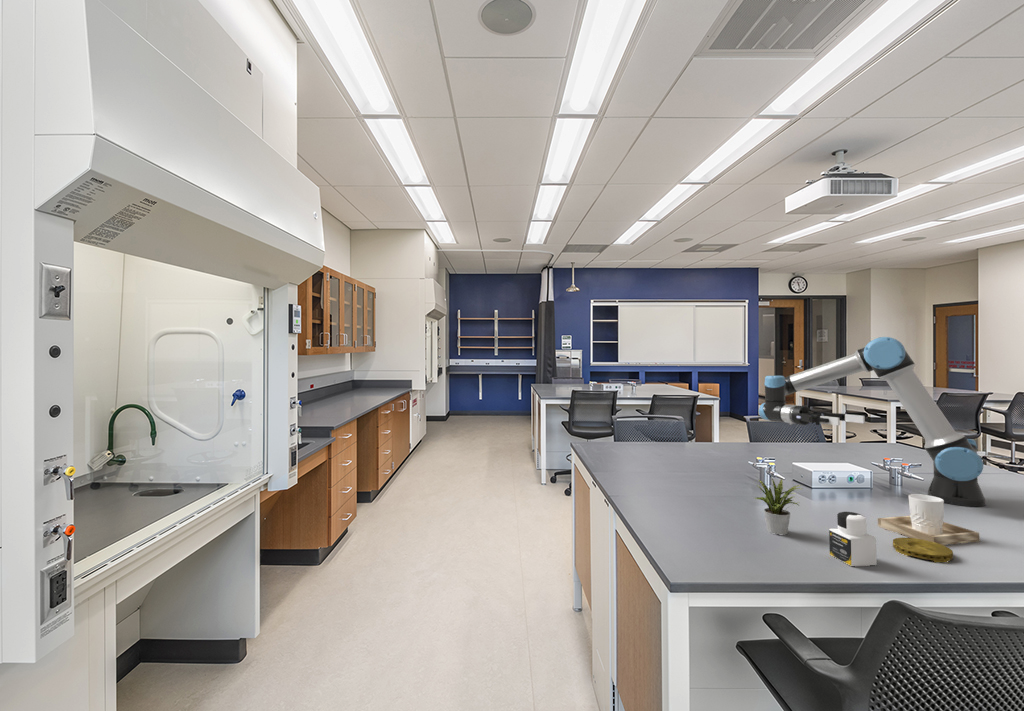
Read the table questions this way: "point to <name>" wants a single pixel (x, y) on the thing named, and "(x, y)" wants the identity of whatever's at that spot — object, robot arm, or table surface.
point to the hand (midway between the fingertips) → (851, 420)
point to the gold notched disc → (923, 549)
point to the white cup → (926, 513)
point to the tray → (949, 534)
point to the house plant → (777, 508)
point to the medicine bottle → (852, 541)
